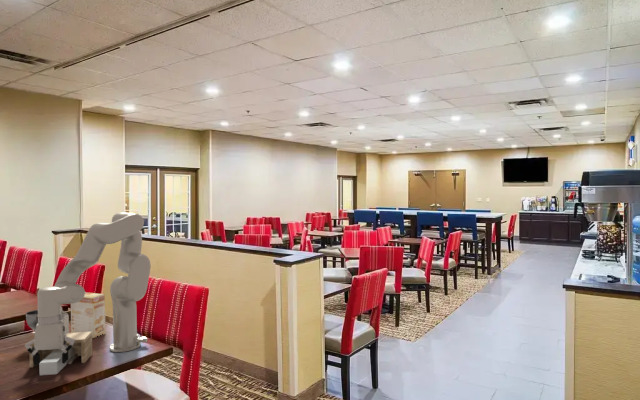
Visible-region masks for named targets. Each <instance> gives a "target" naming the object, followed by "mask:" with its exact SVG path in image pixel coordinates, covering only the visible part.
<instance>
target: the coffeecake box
mask: <svg viewBox="0 0 640 400" xmlns="http://www.w3.org/2000/svg"><path fill="white" fill-rule="evenodd" d="M105 296H106V295H105V294H104V293H96V292H86V291H85V295H84V298H83V299H82V300H81V301H79V302H77V303H72V304H70V324H71V325H70V326H71V327H70V328H71V329H70V330H71V332H70V333H78V332H92V339H94V338H95V339H96V338H98V337H100V335H101V336H103V335H106V310H105V309H106V308H105V307H106V305H105V304H106V301H105V300H106V299H105V298H106V297H105ZM102 334H103V335H102ZM97 336H98V337H97Z"/></svg>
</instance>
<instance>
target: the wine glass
mask: <svg viewBox="0 0 640 400" xmlns="http://www.w3.org/2000/svg"><path fill="white" fill-rule="evenodd" d="M25 317H26V318H25V320H26V323H27V326H28V327H29V328H30V329H32V330H33V331H34V332H35V329H36V325H37V324H38V309H35V310H30V311H27V312H25Z"/></svg>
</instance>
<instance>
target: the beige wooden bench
mask: <svg viewBox="0 0 640 400" xmlns="http://www.w3.org/2000/svg"><path fill="white" fill-rule="evenodd" d="M66 334H67V337H70V338H72V339H75V340H76V341H75V343H74V345H73V347H74V356H73V357H72V358H71V359H70V360H69V361H68V363H67V364H68V365H72V364H73V362H74V361H75V360H76V359H77V358H78V357H81V364H86V362H87V361H88V360H89V359H90V357H91V356H92V355H93V338H92V332H78V333H71V332H69V333H66ZM66 345H67V346H69V345H70V342H67V343H66ZM31 347H33V348H34V343H33V344H31ZM34 349H35V348H34ZM54 350H55V349H52V350H39V351H38V353H40V362H41V361H42V360H43V359H45V358H46V357H47V356H48V355H49V354H50V353H52V352H53V351H54ZM28 355H29V358H28V359H29V368H34V367H35V366H34V363H33V356H32V355H31V353H30V352H28Z"/></svg>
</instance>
